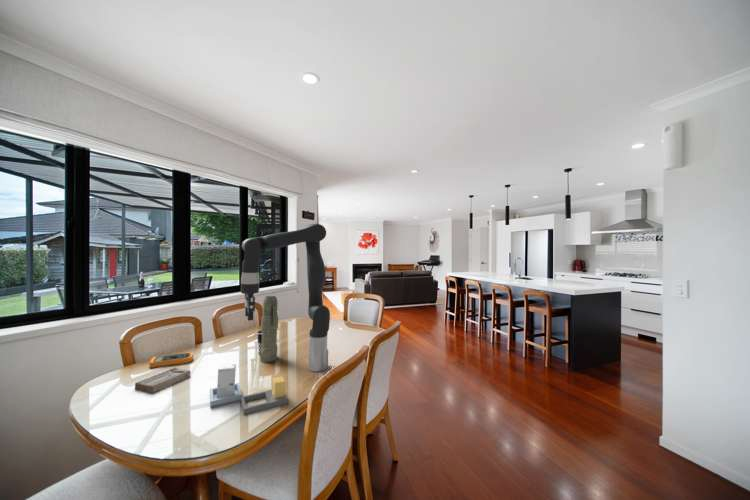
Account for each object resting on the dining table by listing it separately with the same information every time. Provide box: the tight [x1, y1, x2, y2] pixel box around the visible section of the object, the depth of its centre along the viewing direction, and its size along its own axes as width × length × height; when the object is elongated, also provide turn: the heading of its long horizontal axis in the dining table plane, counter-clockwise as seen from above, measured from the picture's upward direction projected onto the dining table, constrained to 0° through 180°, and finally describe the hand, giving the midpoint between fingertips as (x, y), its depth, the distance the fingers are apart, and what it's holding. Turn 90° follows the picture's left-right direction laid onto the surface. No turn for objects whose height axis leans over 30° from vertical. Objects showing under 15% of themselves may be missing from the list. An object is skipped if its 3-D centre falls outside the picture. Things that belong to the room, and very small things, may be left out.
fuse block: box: [240, 376, 288, 415], centre depth 112 cm, size 16×10×8 cm, turn 122°
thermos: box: [259, 295, 279, 363], centre depth 155 cm, size 9×12×35 cm
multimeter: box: [148, 352, 194, 369], centre depth 147 cm, size 9×18×3 cm, turn 117°
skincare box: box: [216, 364, 237, 399], centre depth 115 cm, size 6×4×12 cm
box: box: [134, 367, 191, 394], centre depth 125 cm, size 11×17×3 cm, turn 162°
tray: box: [209, 382, 243, 409], centre depth 114 cm, size 11×11×2 cm
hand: (249, 318), depth 126 cm, fingers open, 8 cm apart
